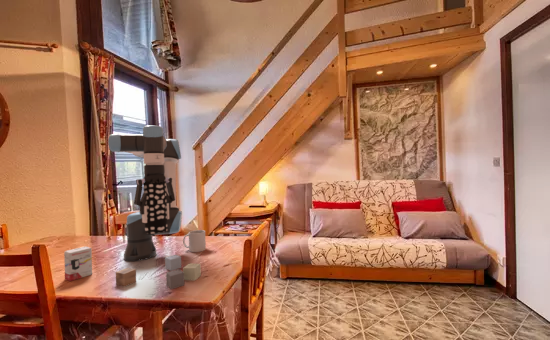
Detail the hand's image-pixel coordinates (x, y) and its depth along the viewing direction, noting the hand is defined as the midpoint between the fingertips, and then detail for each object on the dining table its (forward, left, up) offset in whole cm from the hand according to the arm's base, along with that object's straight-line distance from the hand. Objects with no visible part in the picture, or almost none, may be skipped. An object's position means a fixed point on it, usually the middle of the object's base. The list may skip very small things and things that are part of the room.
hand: (156, 220), depth 107 cm
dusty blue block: (-8, +11, -24) cm, 28 cm away
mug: (-24, +33, -25) cm, 47 cm away
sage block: (+9, +10, -24) cm, 28 cm away
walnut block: (-8, -9, -24) cm, 27 cm away
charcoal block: (+10, +2, -24) cm, 26 cm away
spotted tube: (0, 0, -5) cm, 5 cm away
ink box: (-32, -19, -25) cm, 45 cm away
